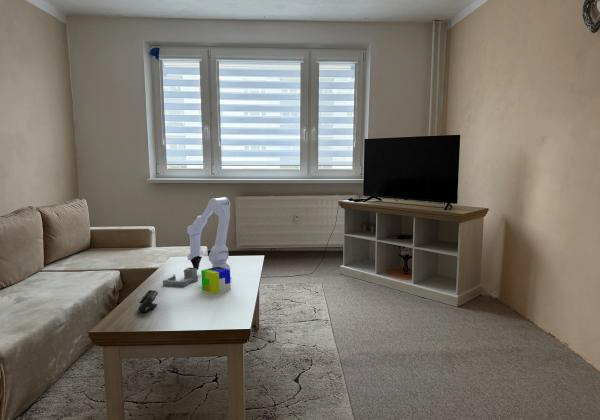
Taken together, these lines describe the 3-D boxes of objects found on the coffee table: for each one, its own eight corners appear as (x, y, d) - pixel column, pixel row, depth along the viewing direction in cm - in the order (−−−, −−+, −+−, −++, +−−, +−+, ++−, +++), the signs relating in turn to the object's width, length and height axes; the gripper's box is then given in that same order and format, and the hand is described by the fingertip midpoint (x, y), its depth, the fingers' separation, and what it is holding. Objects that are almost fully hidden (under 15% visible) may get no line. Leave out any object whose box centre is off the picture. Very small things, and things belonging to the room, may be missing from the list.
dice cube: (197, 276, 231) (196, 267, 230) (192, 279, 226) (192, 270, 225) (188, 276, 232) (188, 267, 231) (184, 278, 227) (184, 269, 226)
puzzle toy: (230, 289, 207) (230, 269, 206) (213, 294, 199) (213, 273, 198) (218, 285, 214) (217, 266, 212) (202, 290, 206) (201, 270, 205)
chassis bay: (173, 278, 226) (173, 273, 226) (198, 280, 223) (198, 274, 222) (160, 285, 214) (159, 279, 214) (186, 287, 211) (186, 281, 210)
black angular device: (154, 307, 186) (140, 299, 185) (164, 293, 186) (151, 285, 184) (147, 320, 175) (133, 311, 173) (158, 304, 174) (144, 296, 172)
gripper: (195, 243, 242) (196, 266, 244) (182, 248, 228) (183, 272, 230) (206, 243, 240) (207, 266, 242) (193, 248, 226) (194, 273, 228)
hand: (196, 269), depth 236 cm, fingers closed
